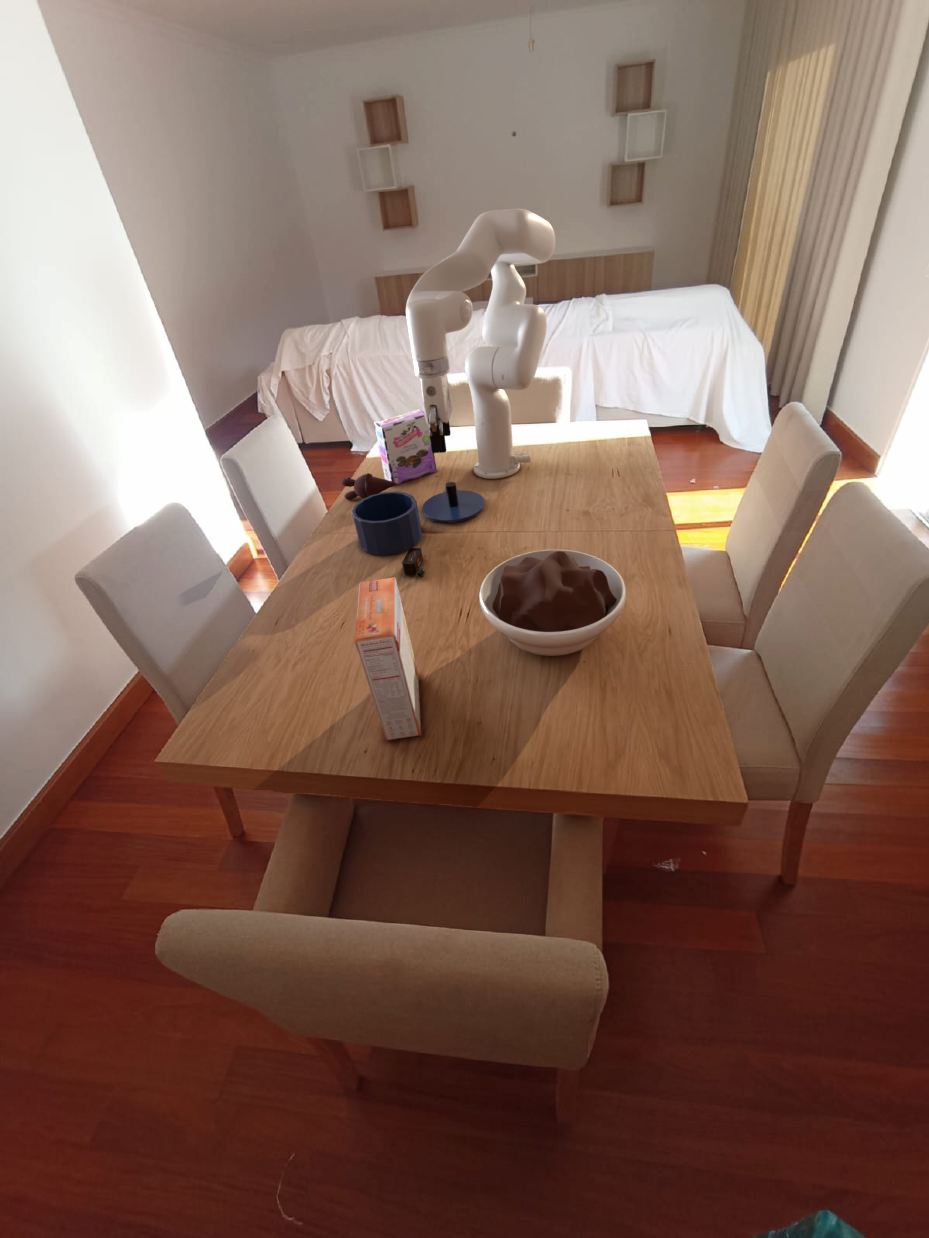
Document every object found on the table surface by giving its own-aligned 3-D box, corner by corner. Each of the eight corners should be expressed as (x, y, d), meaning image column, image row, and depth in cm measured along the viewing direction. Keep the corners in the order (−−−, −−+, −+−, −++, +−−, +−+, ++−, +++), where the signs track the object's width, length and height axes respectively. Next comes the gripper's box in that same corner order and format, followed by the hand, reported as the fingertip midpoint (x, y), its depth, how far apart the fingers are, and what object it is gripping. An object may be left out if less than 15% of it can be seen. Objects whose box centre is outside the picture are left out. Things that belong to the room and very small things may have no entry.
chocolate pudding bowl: (495, 587, 121) (489, 522, 111) (623, 591, 115) (628, 522, 106) (471, 673, 102) (461, 603, 93) (623, 683, 96) (628, 609, 87)
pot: (425, 521, 146) (419, 489, 140) (417, 553, 134) (411, 520, 129) (366, 525, 148) (359, 493, 142) (354, 557, 136) (345, 524, 131)
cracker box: (384, 680, 103) (358, 580, 90) (419, 675, 103) (397, 574, 90) (383, 742, 92) (352, 639, 79) (421, 737, 92) (397, 633, 79)
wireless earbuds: (402, 578, 127) (400, 565, 125) (412, 560, 133) (409, 547, 131) (423, 579, 126) (421, 566, 124) (432, 560, 131) (430, 548, 129)
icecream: (397, 467, 157) (345, 473, 161) (389, 472, 151) (334, 479, 154) (402, 493, 160) (351, 499, 164) (394, 499, 153) (340, 505, 157)
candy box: (392, 486, 163) (381, 427, 153) (384, 479, 167) (372, 421, 157) (437, 471, 168) (429, 413, 157) (428, 465, 172) (419, 407, 162)
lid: (486, 492, 154) (484, 468, 150) (483, 522, 142) (481, 496, 138) (426, 496, 156) (422, 472, 152) (419, 526, 144) (414, 501, 140)
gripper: (444, 376, 119) (454, 458, 129) (452, 353, 133) (461, 428, 143) (407, 379, 120) (420, 460, 130) (419, 356, 134) (430, 431, 144)
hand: (441, 443), depth 137 cm, fingers open, 9 cm apart
